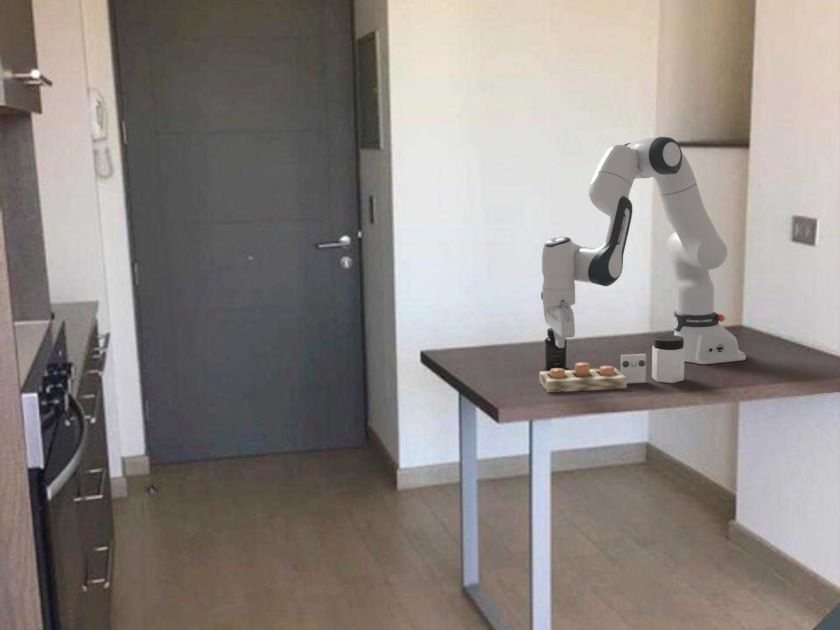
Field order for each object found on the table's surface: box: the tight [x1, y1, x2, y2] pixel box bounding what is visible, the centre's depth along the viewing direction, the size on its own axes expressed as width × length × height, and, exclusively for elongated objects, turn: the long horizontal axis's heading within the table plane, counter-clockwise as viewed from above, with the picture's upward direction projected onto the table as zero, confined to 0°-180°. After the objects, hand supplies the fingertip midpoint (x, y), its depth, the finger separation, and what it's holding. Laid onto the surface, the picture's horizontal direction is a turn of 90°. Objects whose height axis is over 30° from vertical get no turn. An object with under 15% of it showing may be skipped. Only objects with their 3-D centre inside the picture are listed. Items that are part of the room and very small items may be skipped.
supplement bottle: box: [543, 327, 568, 371], centre depth 293 cm, size 7×7×12 cm
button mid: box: [574, 361, 591, 376], centre depth 275 cm, size 4×4×3 cm
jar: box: [651, 334, 685, 384], centre depth 278 cm, size 9×8×12 cm
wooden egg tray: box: [538, 367, 628, 393], centre depth 276 cm, size 22×11×3 cm, turn 95°
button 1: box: [549, 368, 566, 379], centre depth 275 cm, size 4×4×3 cm
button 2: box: [599, 365, 615, 376], centre depth 276 cm, size 4×4×3 cm
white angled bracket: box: [620, 353, 647, 384], centre depth 277 cm, size 7×3×8 cm, turn 95°
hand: (560, 346), depth 273 cm, fingers closed
